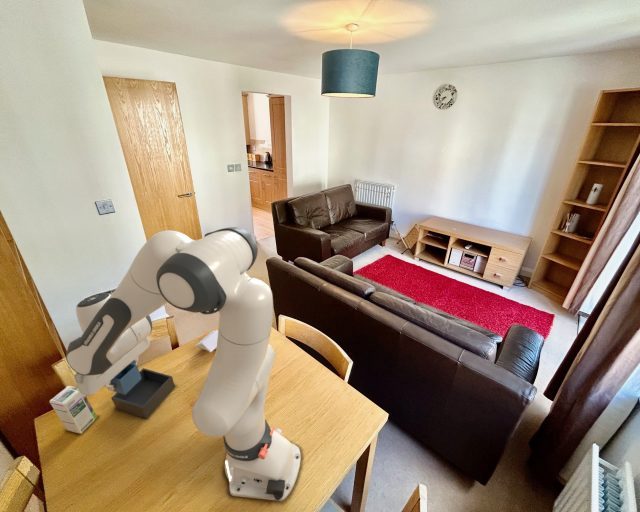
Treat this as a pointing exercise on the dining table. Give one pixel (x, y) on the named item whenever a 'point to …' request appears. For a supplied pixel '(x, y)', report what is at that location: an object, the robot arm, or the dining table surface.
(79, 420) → the syrup box
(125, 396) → the big bin
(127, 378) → the small bin
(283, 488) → the robot arm
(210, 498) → the dining table surface
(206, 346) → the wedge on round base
